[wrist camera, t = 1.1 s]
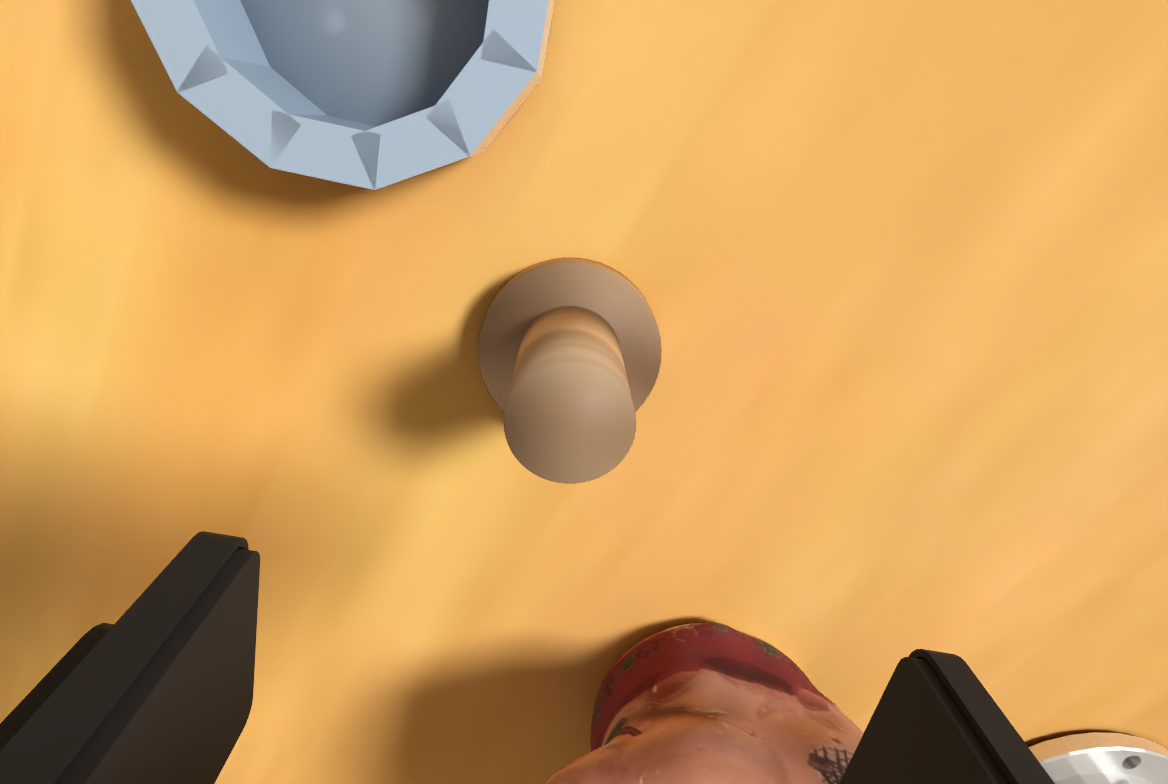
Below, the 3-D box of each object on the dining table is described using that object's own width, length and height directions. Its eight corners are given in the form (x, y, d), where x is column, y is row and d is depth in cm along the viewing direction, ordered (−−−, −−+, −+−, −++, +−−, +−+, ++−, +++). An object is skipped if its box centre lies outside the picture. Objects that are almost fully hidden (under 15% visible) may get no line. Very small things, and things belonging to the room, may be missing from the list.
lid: (634, 438, 27) (656, 544, 20) (469, 408, 26) (435, 506, 19) (676, 277, 24) (717, 336, 18) (497, 240, 24) (469, 285, 17)
